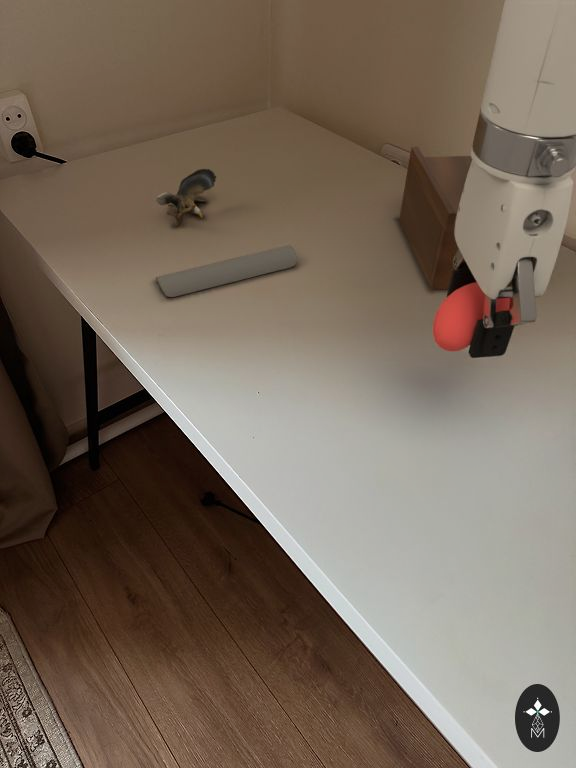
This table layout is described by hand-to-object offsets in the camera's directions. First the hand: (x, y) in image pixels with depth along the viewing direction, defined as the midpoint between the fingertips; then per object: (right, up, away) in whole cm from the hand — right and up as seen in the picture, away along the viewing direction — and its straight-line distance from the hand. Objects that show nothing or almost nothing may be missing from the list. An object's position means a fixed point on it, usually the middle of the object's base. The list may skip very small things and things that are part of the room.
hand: (473, 327), depth 59 cm
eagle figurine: (-32, +21, +39) cm, 55 cm away
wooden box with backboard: (+7, +14, +34) cm, 38 cm away
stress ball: (0, -1, +1) cm, 1 cm away
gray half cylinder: (-25, +10, +29) cm, 39 cm away
